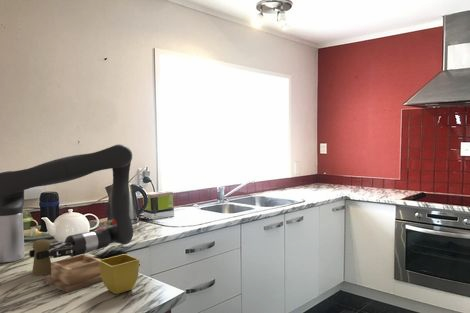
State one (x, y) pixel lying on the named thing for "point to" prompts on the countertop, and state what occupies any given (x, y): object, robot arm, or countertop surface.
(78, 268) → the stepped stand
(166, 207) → the tea box
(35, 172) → the robot arm
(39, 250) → the cork
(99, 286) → the countertop surface
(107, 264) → the flower pot
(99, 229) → the toy fire truck
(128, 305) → the countertop surface
